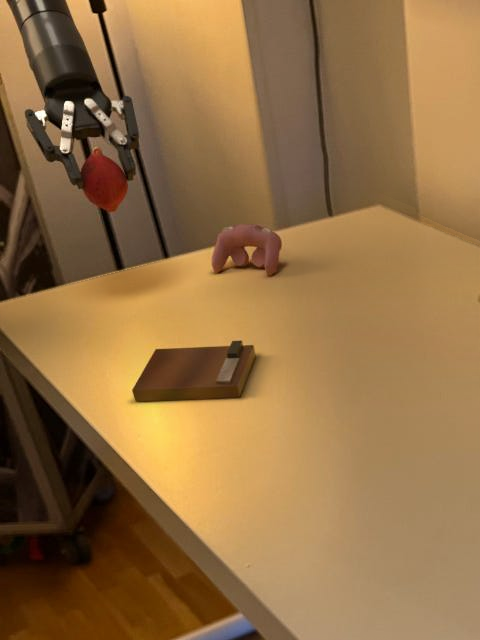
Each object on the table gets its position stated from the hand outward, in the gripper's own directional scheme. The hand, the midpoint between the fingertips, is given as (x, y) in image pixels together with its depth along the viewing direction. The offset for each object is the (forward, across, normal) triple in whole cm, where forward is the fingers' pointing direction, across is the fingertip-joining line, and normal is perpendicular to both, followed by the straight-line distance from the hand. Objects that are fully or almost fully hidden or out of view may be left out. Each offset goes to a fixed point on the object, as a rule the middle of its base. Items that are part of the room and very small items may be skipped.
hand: (106, 180), depth 128 cm
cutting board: (+33, 0, -12) cm, 35 cm away
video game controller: (+11, +17, +11) cm, 22 cm away
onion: (+2, 0, +4) cm, 5 cm away
